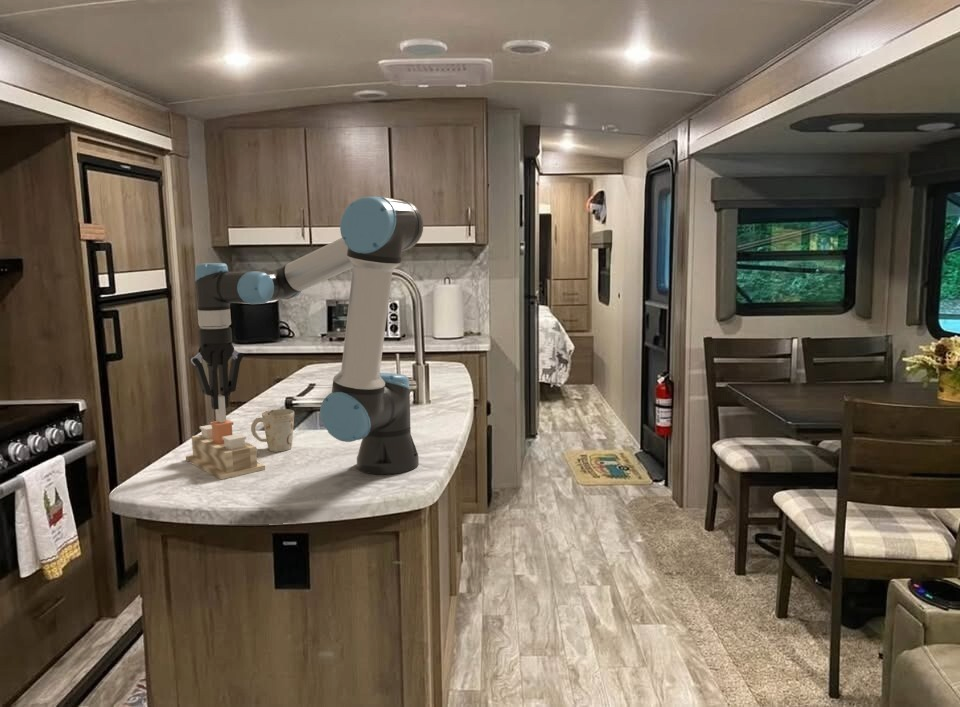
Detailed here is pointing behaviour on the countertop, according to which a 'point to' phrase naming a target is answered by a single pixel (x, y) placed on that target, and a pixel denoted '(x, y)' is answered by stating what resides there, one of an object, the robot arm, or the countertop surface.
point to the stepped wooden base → (223, 458)
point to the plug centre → (221, 431)
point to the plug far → (206, 431)
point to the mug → (276, 429)
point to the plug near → (234, 441)
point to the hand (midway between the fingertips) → (221, 421)
